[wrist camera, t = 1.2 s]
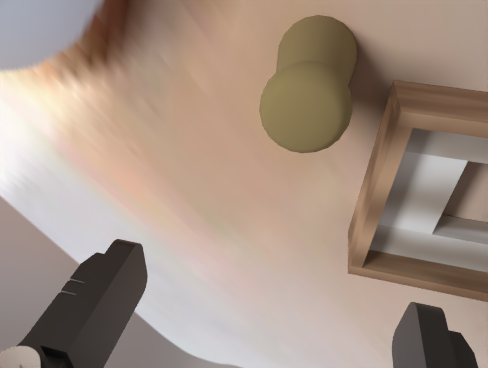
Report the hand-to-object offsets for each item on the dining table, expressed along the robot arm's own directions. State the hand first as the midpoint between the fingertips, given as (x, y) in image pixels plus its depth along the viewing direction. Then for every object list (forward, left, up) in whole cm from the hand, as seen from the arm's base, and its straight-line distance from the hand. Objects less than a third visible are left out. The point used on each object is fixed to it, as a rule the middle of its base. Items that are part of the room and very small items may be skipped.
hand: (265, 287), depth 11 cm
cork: (0, 0, -22) cm, 22 cm away
